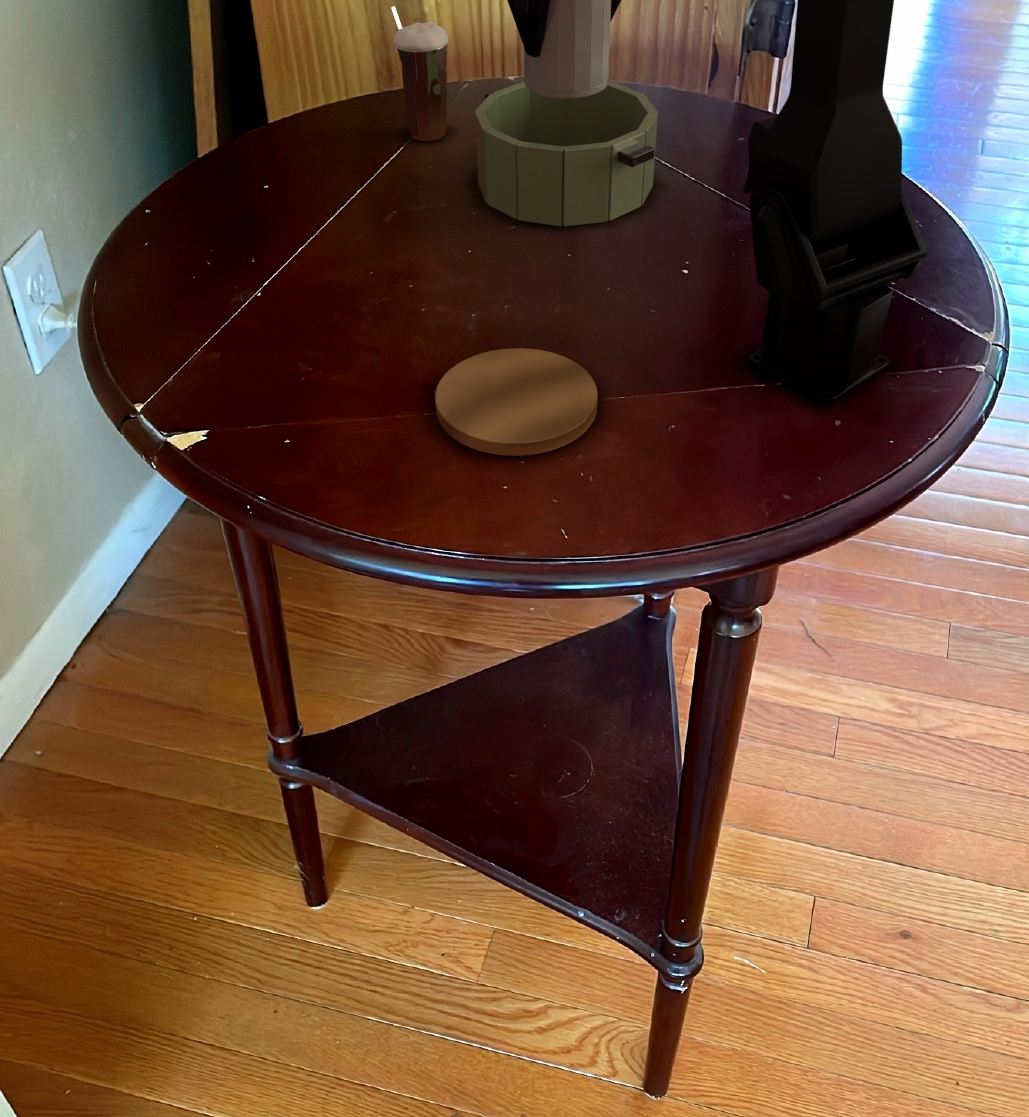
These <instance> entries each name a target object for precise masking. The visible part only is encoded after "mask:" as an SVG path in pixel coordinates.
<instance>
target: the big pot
mask: <svg viewBox="0 0 1029 1117" xmlns="http://www.w3.org/2000/svg"><path fill="white" fill-rule="evenodd" d="M474 118H475V142H476V161H477V162H476V166H477V185H478V187H479V190H480V193H481V195H482V198H483V200H484V203H485V204H487V206H489V207H491V208H493V209H495V210H497V211H499V212H501V213H502V214H504V215H506V216H508V217H510V218H511V219H514V220H518V221H520V222H527V223H534V224H540V225H548V226H554V227H562V226H563V227H572V226H582V225H590V224H591V225H592V224H599V223H600V224H601V223H607V222H608V221H609V222H611V221H613V220H615V219H617V218H619V217H621V216H623V215H626V214H628V213H630V212H632V211H635V210H637V209H639V208H641V207H642V206H643V205H644V203H645V202H646V200H647V198H648V196H649V195H650V192H651V190H652V188H653V186H654V174H655V161H656V147H657V133H658V132H657V131H658V118H659V111H658V110H657V109H656V108H655V106H654V104H653V103H652V102H651V101H650V99H649V98H648V97H647V95H646V94H644V93H642V92H640V91H637V90H634V89H632V88H629V87H627V86H624V85H622V84H620V83H617V82H614V81H611V80H608V85H607V86H606V88H605V89H603V90H602V91H600V92H598V93H596V94H593V95H590V96H585V97H580V98H551V97H546V96H541V95H538V94H535V93H533V92H531V91H530V90H529V89H527V87H526V86H525V81H521V82H518V83H515V84H512V85H510V86H509V85H504V86H503V87H502V86H501V87H499V88H496V89H494V90H490V91H488V92H485V93H484V100H483V102H481V103H480V105H479V106H478V107H477V108H476V109H475V112H474Z"/></svg>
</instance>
